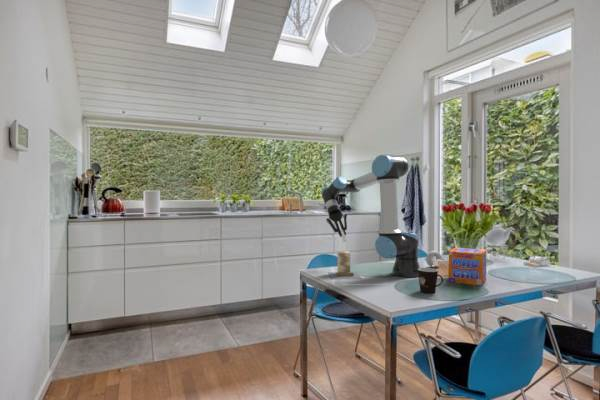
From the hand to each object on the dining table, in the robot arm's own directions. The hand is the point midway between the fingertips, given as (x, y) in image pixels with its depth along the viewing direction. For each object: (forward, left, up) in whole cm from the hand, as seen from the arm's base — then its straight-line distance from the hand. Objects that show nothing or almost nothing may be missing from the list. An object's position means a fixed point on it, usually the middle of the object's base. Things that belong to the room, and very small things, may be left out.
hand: (344, 240), depth 207 cm
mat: (-3, +14, -18) cm, 23 cm away
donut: (-49, -27, -18) cm, 59 cm away
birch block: (-2, +12, -17) cm, 21 cm away
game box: (-64, +3, -18) cm, 66 cm away
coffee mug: (-45, +33, -18) cm, 58 cm away
